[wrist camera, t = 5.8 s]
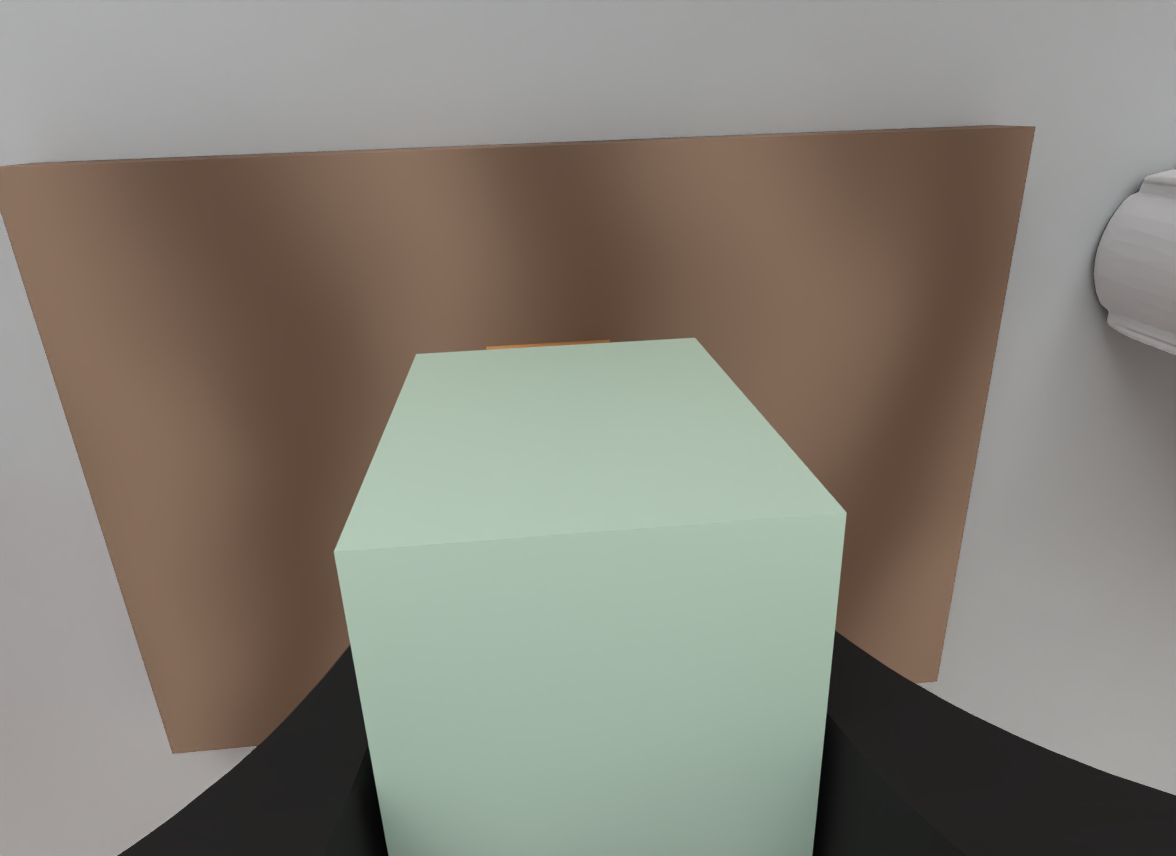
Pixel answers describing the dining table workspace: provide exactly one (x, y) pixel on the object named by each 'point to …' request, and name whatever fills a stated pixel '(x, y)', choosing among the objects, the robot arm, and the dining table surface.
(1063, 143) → the dining table surface
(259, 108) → the dining table surface
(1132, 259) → the photo printer
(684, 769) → the block
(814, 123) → the dining table surface
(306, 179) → the board
